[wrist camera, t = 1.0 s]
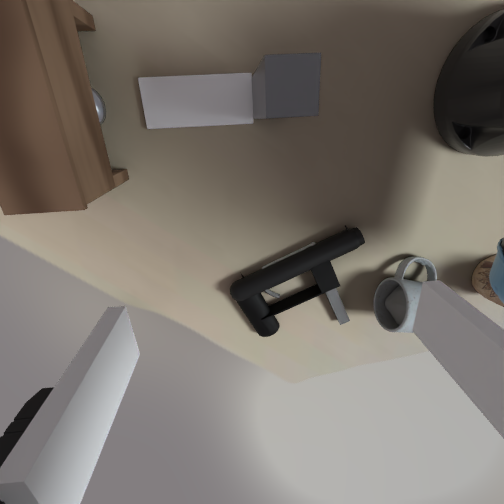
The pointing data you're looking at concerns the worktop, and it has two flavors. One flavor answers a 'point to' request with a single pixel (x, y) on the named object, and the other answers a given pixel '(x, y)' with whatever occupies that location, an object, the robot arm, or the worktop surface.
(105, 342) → the robot arm
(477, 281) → the figurine
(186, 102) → the grey block with plate
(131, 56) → the worktop surface
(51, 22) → the walnut stool
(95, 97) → the dark grey round piece
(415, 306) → the ceramic mug
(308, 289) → the door handle
